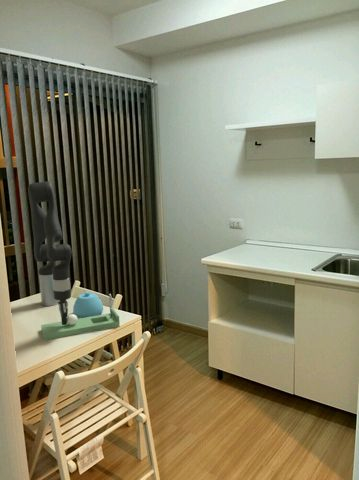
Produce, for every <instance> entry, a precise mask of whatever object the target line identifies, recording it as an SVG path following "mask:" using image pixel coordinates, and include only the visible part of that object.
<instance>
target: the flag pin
mask: <svg viewBox="0 0 359 480" xmlns="http://www.w3.org/2000/svg"><path fill="white" fill-rule="evenodd" d="M108 296H109V298H108V299H109V313H110V318H112V310H111V308H112V301H113V296H112V294H111V293H108Z"/></svg>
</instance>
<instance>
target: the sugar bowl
mask: <svg viewBox="0 0 359 480" xmlns="http://www.w3.org/2000/svg"><path fill="white" fill-rule="evenodd" d="M72 309H73V310H72V312H73V314H74V315H76V316H77V318H78V319H79V318H85V317H91V316H97V315H102V312H103V311H104V306H103V302H102V300H101V299H100V297H99V296H98V295H97V294H96V293H94V292H91V291H85V292H84V293H81V294H79V295H78V296H77V298H76V300H75V301H74V304H73V307H72Z"/></svg>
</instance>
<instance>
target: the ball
mask: <svg viewBox="0 0 359 480" xmlns="http://www.w3.org/2000/svg"><path fill="white" fill-rule="evenodd" d="M78 319H79V317H77V316H76V315H75V314H74V313H71V314H69V315H68V316H67V323H68V324H69V325H74V324H76V323H77V321H78Z"/></svg>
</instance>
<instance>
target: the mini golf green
mask: <svg viewBox="0 0 359 480" xmlns="http://www.w3.org/2000/svg"><path fill="white" fill-rule="evenodd" d="M111 310H112V318H110V312H109V313H104V314H103V313H102V314H100V315H97V316H91V317H85V318H79V317H78V321H77V323H76V324H74V325H69V324H68V323H67V324H66V325H62V321H57V322H51V323H45V324H41V325H40V326H41V332H42V333H41V334H42V336H43V340H44V341H47V340H52V339H53V340H54V339H58V338H65V337H68V336H74V335H79V334H85V333H90V332H96V331H97V332H98V331H102V330H107V329H112V328H118V327H120V315H119V314H118V313H117V312H116V310H115V309H114V308H113V307H111Z"/></svg>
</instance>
